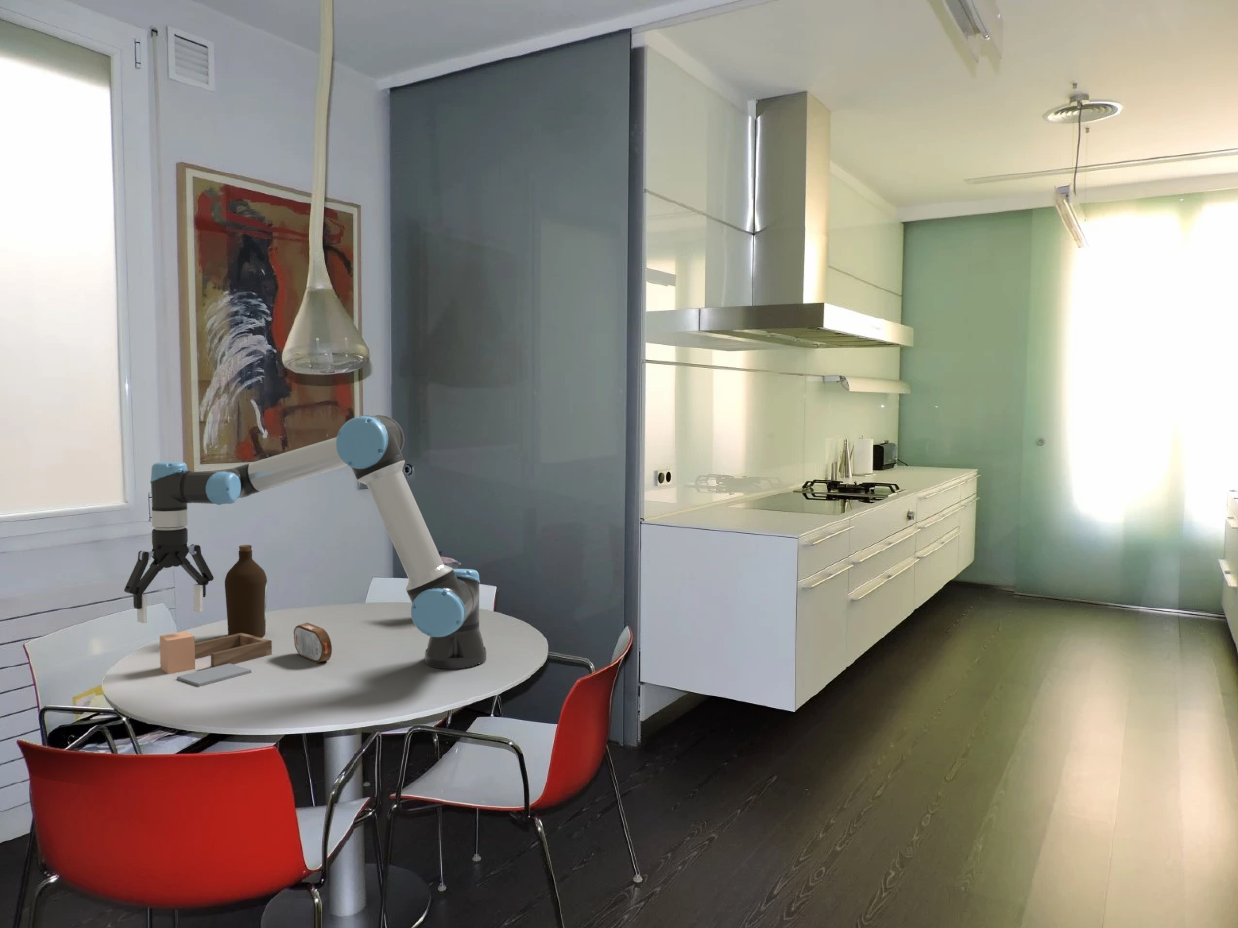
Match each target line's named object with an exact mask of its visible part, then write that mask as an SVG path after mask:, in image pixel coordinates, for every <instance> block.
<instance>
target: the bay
mask: <svg viewBox="0 0 1238 928" xmlns="http://www.w3.org/2000/svg"><path fill="white" fill-rule="evenodd" d="M272 643H273V641H272V640H270V639H266V638H263V637H261V638H260V637H256V636H252V635H248V634H244V633H238V634H234V635H230V636H228V635H225V636H221V637H216V638H213V639H207V640H204V641H200V642H199V641H198V642H195V660H197V659H200V658H201V659H202V658H205V657H209V656H210V668H213V667H217V666H221V665H225V664H228V663H230V664H233V665H236V664H239V663H243V662H247V661H250V660H254V659H258V658H262V657H266V655H267V656H270V655H272V654H273V648H272V645H273V644H272ZM208 655H209V656H208Z"/></svg>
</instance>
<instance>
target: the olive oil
mask: <svg viewBox="0 0 1238 928" xmlns="http://www.w3.org/2000/svg"><path fill="white" fill-rule="evenodd" d="M238 548H239V550H238V559H237V561H236V562H235V564H234V565H233V566H232V567H231V568H230V569H229V570H228V571H227V573H226V576H225V578H224V593H225V605H226V607H225V608H226V618H227V621H226V622H227V636H230V635H234V634H238V633H244V634H248V635H252V636H256V637H260V638H263V637H264V636H266V630H267V629H266V628H267V627H266V620H267V619H266V618H267V616H266V615H267V614H266V613H267V595H268V594H267V590H268V588H267V587H268V578H267V574H266V571H265V570H264V569H263V567H261V566H260V565H259V563H257V562H256V561H255V560H254V559H253V550H252V548H253V546H252V544H242V545H239V546H238Z"/></svg>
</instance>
